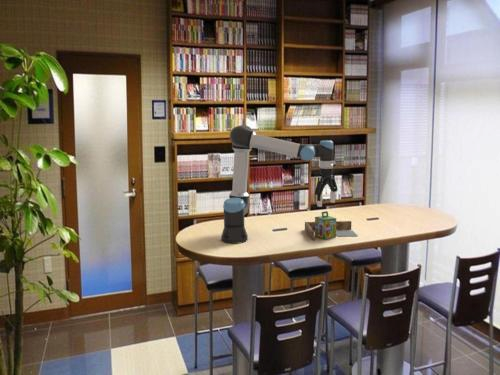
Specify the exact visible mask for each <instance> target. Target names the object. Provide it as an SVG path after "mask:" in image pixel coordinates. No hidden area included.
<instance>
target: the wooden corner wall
mask: <svg viewBox="0 0 500 375" xmlns="http://www.w3.org/2000/svg"><path fill="white" fill-rule="evenodd" d="M348 230H352V220H336V231H348ZM304 231H305V232H306V234H307V235H308V237H309V239H310V240H311V241H314V240H315V221H304Z"/></svg>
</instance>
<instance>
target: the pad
mask: <svg viewBox="0 0 500 375" xmlns="http://www.w3.org/2000/svg"><path fill="white" fill-rule="evenodd" d="M336 237H337V238H340V237H341V238H342V237H343V238H344V237H348V238H349V237H358V234H357V233H356V232H355V231H354V230H336Z"/></svg>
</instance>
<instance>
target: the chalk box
mask: <svg viewBox="0 0 500 375" xmlns="http://www.w3.org/2000/svg"><path fill="white" fill-rule="evenodd" d="M325 214H326V215H325ZM336 221H337V218H336V217H333V216H330V215H329V212H328V211H322V212H321V215H320V216H315V217H314V222H315V230H314V237H317V238H320V239H323V240H326V239H333V238H336V237H337V236H336V231H337V230H336Z"/></svg>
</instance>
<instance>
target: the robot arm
mask: <svg viewBox="0 0 500 375" xmlns="http://www.w3.org/2000/svg"><path fill="white" fill-rule="evenodd" d="M229 140H230V142H231V143H232V144H231V149H232V150H233V151H234V152H233V154H234V155H233V172H232V189H231V191H230V193H229V196H228V197H229V198H227V199H225V200H224V201H223V204H222V205H223V206H222V208H223V229H222V232H221V236H220V238H221V239H220V240H221V242H223V241H225V242H224V243H226V242H242V243H244V242H243V241H245V242H247V241H248V239H249V238H248V233H247V230H246V227H245V215H246V214H248V211H249V210H250V205H251V204H250V201H249V200H250V194H249V193H248V192H247V191H248V176H249V175H248V174H249V158H250V152H251V151H252V149H253V148H254V149H259V150H264V151H268V152H273V153H277V154H281V155H284V156H285V155H286V156H288V157H289V156H290V157H294V158H298V159H300V160H301V159H302V160H304V161H308V162H309V161H311V160H313V159H314V158H319V175H321V177H317V182H316V187H315V190H314V195H316V206H317V207H319V208H321V207H323V195H322V194H323V192H324V189H325V186H327V185H328V187H329V190H330V192H329V194H330V196H329V199H330V200H329V202H330V203H333V204H335V202H336V193H337V191H338V186H337V182H336V178H335V174H334V168H333V167H334V142H333V141H332V140H320V142H319V143H318V144H315V143H314V144H313V143H312V144H307V143H306V144H305V143H303V144H301V143H297V142H294V141H293V142H292V141H288V140H285V139H284V140H283V139H279V138H275V137H272V136H267V135H263V134H258V133H256V132H255V131H254V130H253V129H252V128H251V126H248V125H244V124H241V125H237V126H235V127H233V128H232V129H231V130H230V133H229ZM246 240H247V241H246Z"/></svg>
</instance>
